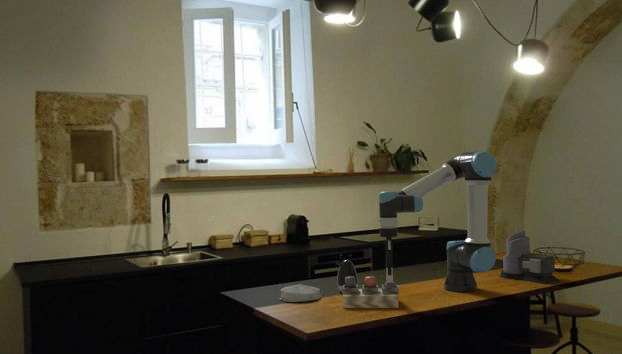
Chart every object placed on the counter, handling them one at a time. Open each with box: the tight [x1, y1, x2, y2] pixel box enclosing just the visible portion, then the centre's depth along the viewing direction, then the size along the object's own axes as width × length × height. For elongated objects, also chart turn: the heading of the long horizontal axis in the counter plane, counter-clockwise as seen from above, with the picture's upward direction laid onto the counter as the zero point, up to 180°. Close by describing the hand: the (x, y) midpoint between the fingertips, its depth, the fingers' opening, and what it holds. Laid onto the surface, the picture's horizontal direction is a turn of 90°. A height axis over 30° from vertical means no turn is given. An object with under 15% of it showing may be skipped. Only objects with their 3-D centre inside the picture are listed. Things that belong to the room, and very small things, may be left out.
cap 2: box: [384, 281, 396, 288], centre depth 234 cm, size 4×4×4 cm
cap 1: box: [345, 276, 355, 288], centre depth 236 cm, size 4×4×4 cm
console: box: [341, 284, 400, 309], centre depth 235 cm, size 24×14×8 cm, turn 84°
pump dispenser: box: [335, 259, 359, 292], centre depth 261 cm, size 10×10×15 cm
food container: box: [279, 283, 323, 303], centre depth 250 cm, size 20×20×7 cm
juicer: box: [498, 230, 560, 285], centre depth 281 cm, size 30×16×24 cm, turn 33°
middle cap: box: [364, 275, 376, 288], centre depth 235 cm, size 4×4×4 cm
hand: (389, 282), depth 234 cm, fingers closed
